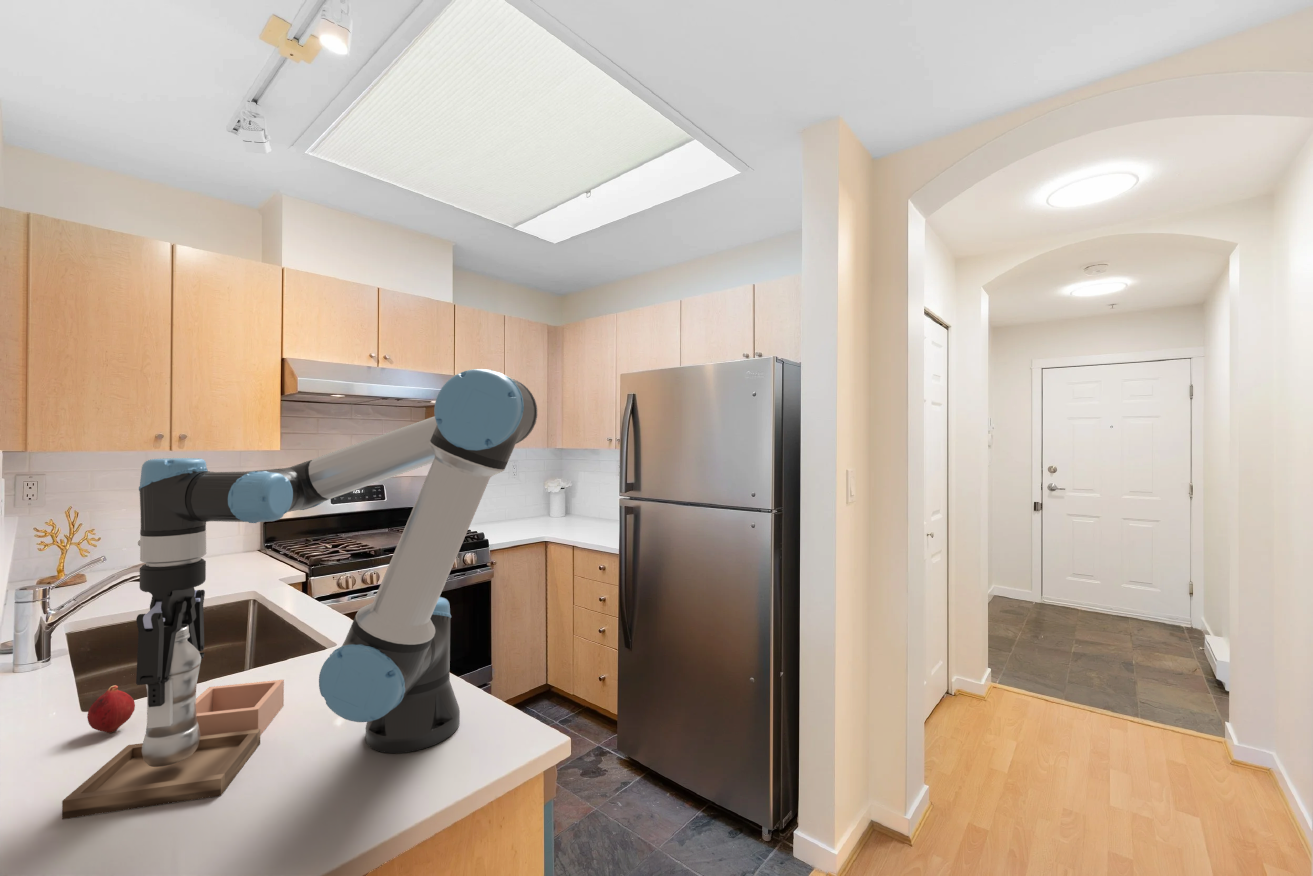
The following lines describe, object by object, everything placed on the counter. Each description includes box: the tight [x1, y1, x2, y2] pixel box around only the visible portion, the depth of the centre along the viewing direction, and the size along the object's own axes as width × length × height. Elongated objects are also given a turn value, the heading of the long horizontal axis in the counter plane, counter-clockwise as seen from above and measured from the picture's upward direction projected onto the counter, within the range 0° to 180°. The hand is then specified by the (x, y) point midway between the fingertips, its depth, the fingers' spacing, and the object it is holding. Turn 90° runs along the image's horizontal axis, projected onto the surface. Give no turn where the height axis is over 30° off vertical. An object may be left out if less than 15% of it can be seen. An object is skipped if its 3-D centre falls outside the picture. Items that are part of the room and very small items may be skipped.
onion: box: [86, 684, 136, 734], centre depth 96 cm, size 6×6×8 cm
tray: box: [61, 729, 261, 820], centre depth 84 cm, size 18×14×2 cm
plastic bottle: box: [142, 624, 202, 767], centre depth 84 cm, size 6×7×20 cm
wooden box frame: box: [196, 679, 285, 737], centre depth 99 cm, size 12×12×5 cm
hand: (172, 714), depth 84 cm, fingers closed on plastic bottle, 6 cm apart
